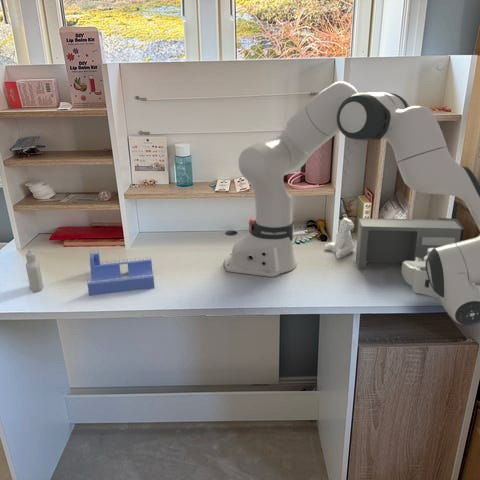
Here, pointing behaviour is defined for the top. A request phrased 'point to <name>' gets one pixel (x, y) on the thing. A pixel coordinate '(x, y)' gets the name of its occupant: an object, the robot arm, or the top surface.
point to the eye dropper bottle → (33, 272)
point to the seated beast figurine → (342, 240)
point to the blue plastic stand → (114, 272)
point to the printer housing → (401, 239)
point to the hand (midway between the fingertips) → (435, 260)
